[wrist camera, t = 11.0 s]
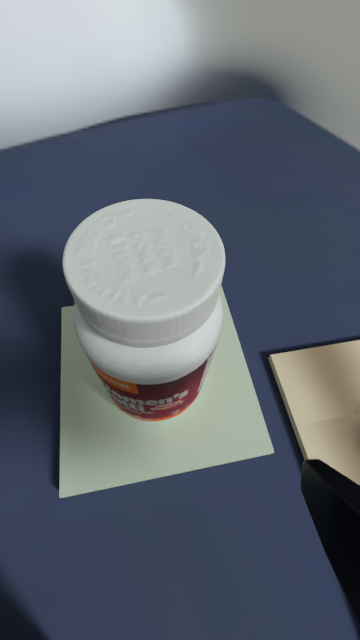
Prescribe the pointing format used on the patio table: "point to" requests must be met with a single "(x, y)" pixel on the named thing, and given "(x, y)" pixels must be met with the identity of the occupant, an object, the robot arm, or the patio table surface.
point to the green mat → (154, 437)
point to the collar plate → (324, 402)
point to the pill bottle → (147, 302)
